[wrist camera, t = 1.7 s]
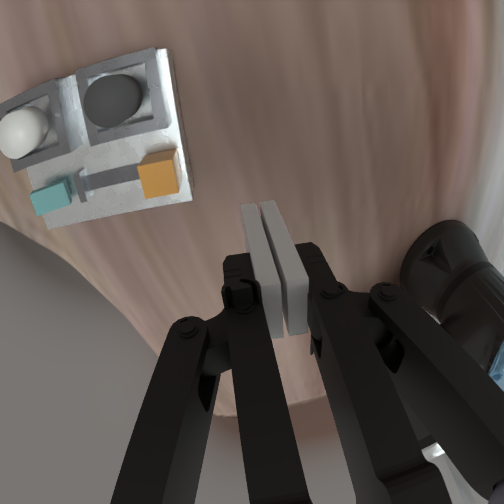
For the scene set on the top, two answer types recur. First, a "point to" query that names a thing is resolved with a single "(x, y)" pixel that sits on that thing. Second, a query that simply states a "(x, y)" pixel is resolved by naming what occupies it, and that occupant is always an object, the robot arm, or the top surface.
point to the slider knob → (160, 174)
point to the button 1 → (22, 131)
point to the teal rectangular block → (51, 197)
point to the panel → (105, 139)
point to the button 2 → (112, 100)
